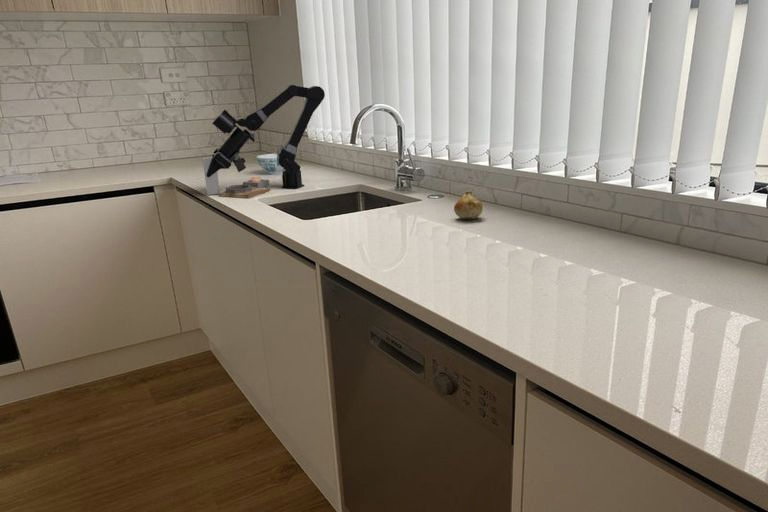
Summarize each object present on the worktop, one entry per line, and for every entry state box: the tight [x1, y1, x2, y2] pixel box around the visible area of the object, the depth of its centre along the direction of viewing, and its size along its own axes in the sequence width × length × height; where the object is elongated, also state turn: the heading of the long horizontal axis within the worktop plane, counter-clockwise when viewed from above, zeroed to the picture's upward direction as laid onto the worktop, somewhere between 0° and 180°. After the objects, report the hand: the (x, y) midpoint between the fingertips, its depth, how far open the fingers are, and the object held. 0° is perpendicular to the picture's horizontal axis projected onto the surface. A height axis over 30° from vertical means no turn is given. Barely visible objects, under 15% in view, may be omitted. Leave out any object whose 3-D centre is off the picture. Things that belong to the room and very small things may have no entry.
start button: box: [249, 176, 262, 182], centre depth 219 cm, size 4×4×2 cm
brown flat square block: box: [218, 184, 271, 199], centre depth 207 cm, size 13×13×3 cm
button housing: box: [242, 178, 270, 188], centre depth 219 cm, size 7×7×2 cm
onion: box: [453, 189, 483, 220], centre depth 159 cm, size 8×8×8 cm
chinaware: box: [256, 153, 285, 176], centre depth 250 cm, size 15×15×8 cm
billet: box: [202, 156, 221, 196], centre depth 208 cm, size 4×4×13 cm
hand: (207, 175), depth 207 cm, fingers closed on billet, 4 cm apart
